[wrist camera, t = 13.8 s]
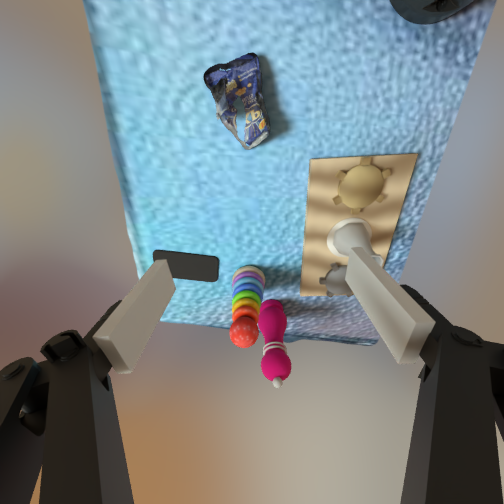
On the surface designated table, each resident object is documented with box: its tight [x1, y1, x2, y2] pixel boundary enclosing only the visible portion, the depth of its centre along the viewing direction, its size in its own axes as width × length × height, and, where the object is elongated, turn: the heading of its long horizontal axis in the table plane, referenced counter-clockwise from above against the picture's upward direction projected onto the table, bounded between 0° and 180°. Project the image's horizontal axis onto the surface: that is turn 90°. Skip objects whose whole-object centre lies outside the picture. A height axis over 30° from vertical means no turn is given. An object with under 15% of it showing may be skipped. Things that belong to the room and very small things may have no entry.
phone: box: [153, 250, 218, 282], centre depth 49 cm, size 7×1×15 cm
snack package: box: [204, 53, 270, 150], centre depth 32 cm, size 12×6×12 cm
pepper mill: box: [258, 299, 291, 388], centre depth 46 cm, size 7×7×20 cm
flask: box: [333, 223, 384, 267], centre depth 38 cm, size 7×7×10 cm
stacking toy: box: [230, 266, 265, 348], centre depth 42 cm, size 8×8×19 cm
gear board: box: [300, 153, 418, 297], centre depth 43 cm, size 31×18×3 cm, turn 3°
